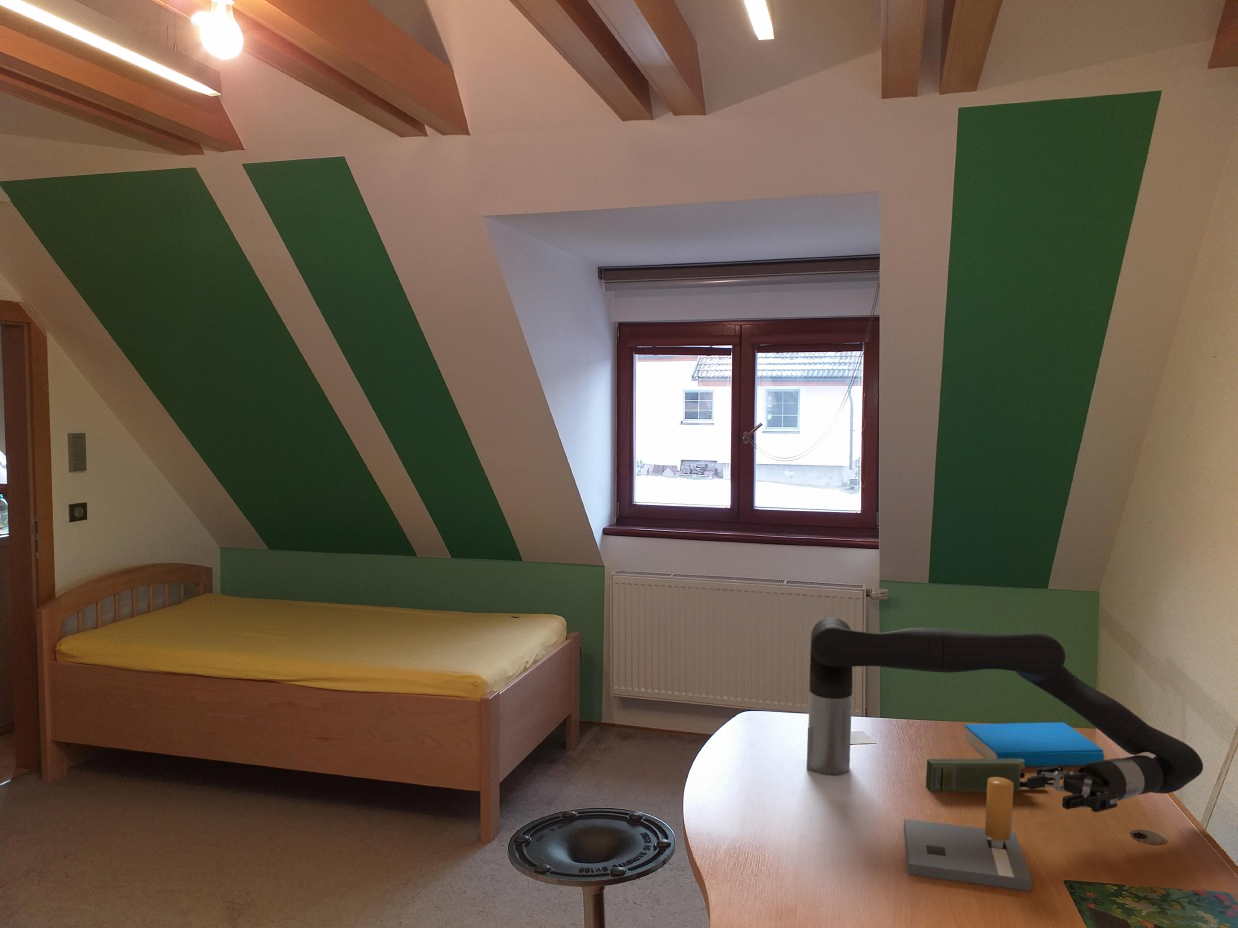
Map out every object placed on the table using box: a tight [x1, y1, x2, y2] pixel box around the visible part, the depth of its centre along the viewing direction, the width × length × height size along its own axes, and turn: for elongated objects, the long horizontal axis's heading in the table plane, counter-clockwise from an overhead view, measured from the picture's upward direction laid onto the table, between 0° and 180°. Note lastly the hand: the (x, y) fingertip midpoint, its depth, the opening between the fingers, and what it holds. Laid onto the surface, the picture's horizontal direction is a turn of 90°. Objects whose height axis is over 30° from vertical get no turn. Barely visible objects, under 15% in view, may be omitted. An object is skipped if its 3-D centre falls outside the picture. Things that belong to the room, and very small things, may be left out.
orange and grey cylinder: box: [984, 777, 1014, 849], centre depth 170 cm, size 4×4×14 cm
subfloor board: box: [903, 818, 1032, 892], centre depth 169 cm, size 20×17×2 cm
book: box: [964, 721, 1105, 767], centre depth 217 cm, size 17×4×25 cm
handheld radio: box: [925, 758, 1046, 792], centre depth 197 cm, size 7×3×25 cm
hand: (1045, 793), depth 173 cm, fingers open, 8 cm apart
